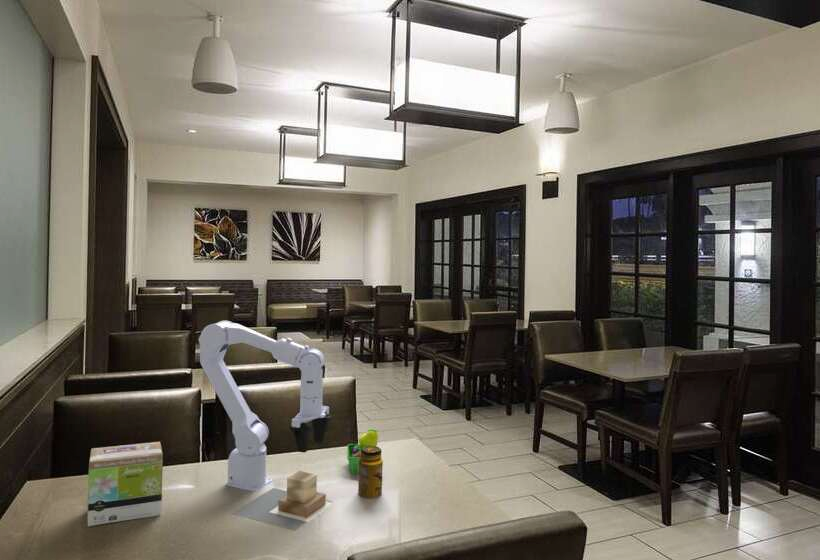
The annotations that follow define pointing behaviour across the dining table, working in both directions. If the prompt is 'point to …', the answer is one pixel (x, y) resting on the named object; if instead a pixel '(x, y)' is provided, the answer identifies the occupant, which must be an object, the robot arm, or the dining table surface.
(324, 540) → the dining table surface
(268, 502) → the mat
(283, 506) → the walnut base
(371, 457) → the condiment
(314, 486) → the maple cube
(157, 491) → the tea box
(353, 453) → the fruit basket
